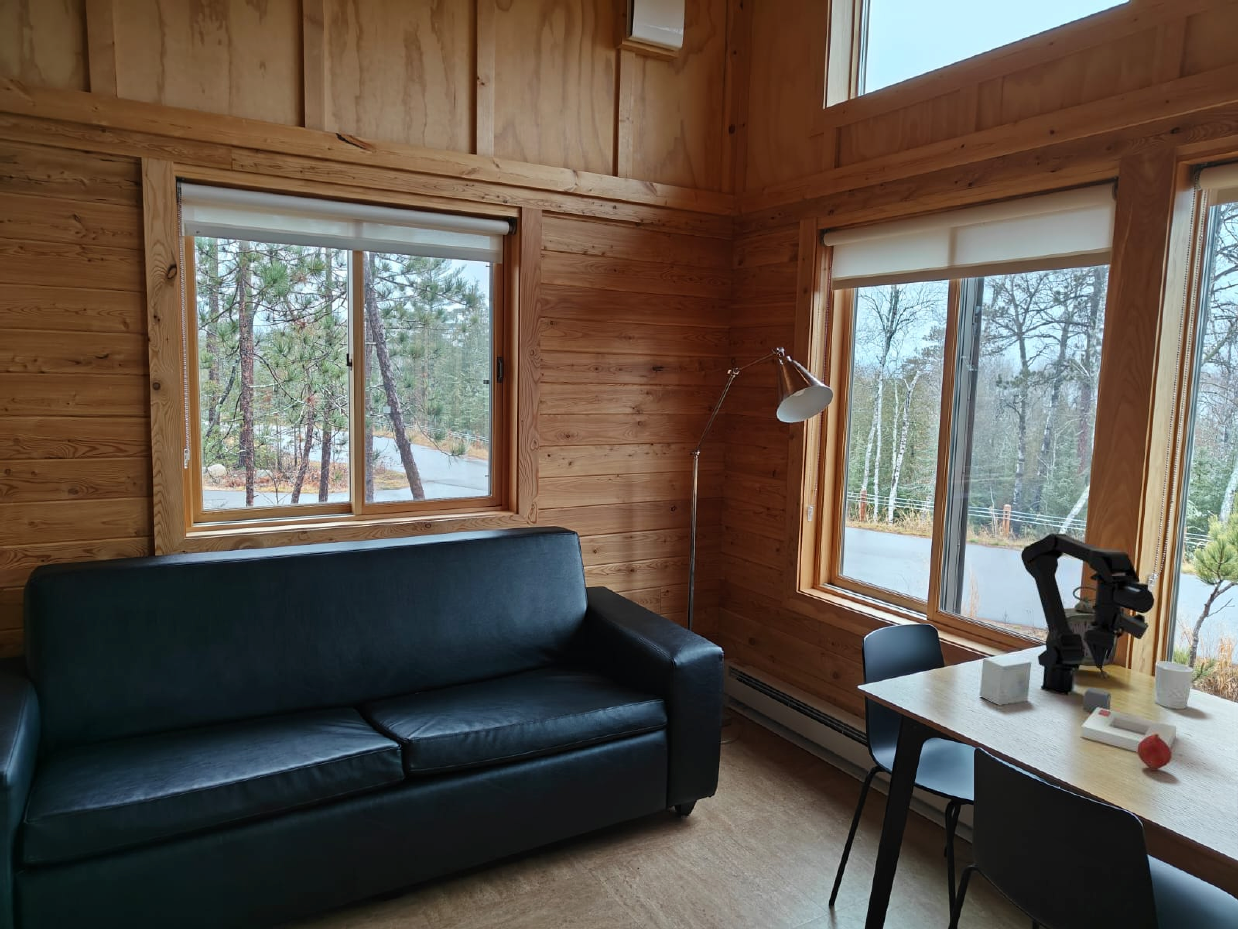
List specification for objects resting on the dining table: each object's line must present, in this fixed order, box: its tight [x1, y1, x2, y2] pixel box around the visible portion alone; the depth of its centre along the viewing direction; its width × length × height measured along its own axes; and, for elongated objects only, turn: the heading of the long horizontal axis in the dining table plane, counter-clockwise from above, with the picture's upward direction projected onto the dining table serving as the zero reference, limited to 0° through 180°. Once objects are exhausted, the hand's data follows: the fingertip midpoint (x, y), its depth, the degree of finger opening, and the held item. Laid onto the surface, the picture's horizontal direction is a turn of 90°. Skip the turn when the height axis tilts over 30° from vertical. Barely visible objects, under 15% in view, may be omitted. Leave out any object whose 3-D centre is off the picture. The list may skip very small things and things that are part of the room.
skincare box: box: [979, 654, 1032, 706], centre depth 207 cm, size 10×6×10 cm, turn 114°
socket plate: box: [1080, 707, 1177, 753], centre depth 186 cm, size 16×16×3 cm
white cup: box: [1154, 660, 1194, 710], centre depth 207 cm, size 8×8×10 cm
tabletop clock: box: [1064, 585, 1118, 678], centre depth 229 cm, size 14×9×25 cm, turn 82°
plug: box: [1082, 686, 1112, 713], centre depth 201 cm, size 5×4×5 cm
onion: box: [1137, 733, 1172, 771], centre depth 169 cm, size 6×6×8 cm
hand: (1102, 663), depth 200 cm, fingers open, 9 cm apart
